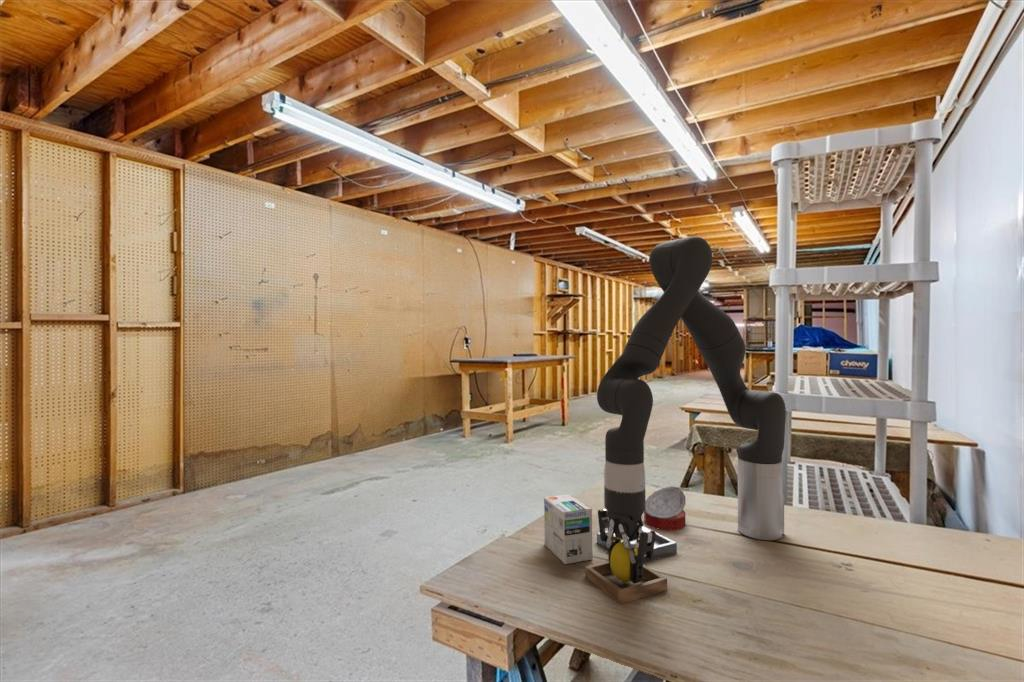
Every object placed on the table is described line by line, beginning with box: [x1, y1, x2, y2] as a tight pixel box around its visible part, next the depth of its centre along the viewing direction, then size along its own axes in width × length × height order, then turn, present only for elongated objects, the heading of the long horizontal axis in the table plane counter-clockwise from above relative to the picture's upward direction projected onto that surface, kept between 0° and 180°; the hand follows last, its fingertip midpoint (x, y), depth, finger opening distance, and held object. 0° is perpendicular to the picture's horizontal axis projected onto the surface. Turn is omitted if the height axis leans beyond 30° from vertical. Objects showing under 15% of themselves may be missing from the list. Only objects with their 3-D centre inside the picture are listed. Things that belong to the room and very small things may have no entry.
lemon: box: [610, 541, 638, 584], centre depth 90 cm, size 6×6×8 cm
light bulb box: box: [543, 493, 594, 565], centre depth 104 cm, size 11×7×11 cm, turn 20°
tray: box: [596, 525, 678, 561], centre depth 106 cm, size 12×12×2 cm
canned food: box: [643, 485, 687, 531], centre depth 120 cm, size 11×10×10 cm
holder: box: [584, 560, 668, 605], centre depth 90 cm, size 11×11×2 cm
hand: (625, 574), depth 90 cm, fingers closed on lemon, 5 cm apart
